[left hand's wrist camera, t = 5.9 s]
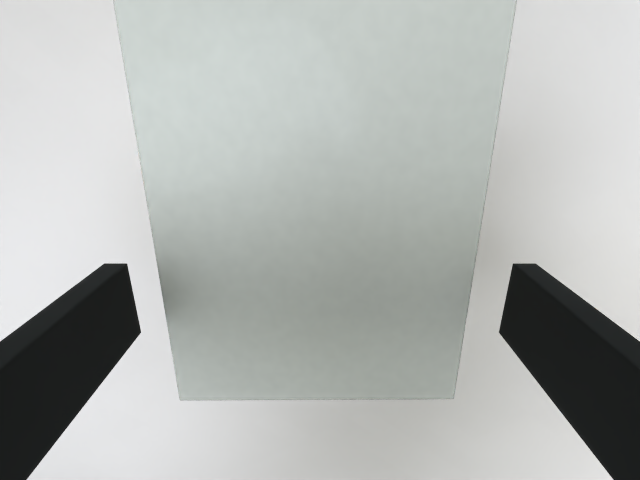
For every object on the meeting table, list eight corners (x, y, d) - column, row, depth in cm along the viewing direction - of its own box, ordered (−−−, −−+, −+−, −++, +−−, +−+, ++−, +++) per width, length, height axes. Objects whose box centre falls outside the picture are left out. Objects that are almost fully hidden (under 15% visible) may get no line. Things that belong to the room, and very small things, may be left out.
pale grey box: (184, -126, 15) (52, -358, 8) (446, -125, 16) (573, -354, 8) (226, 299, 22) (179, 401, 15) (407, 299, 23) (453, 399, 15)
